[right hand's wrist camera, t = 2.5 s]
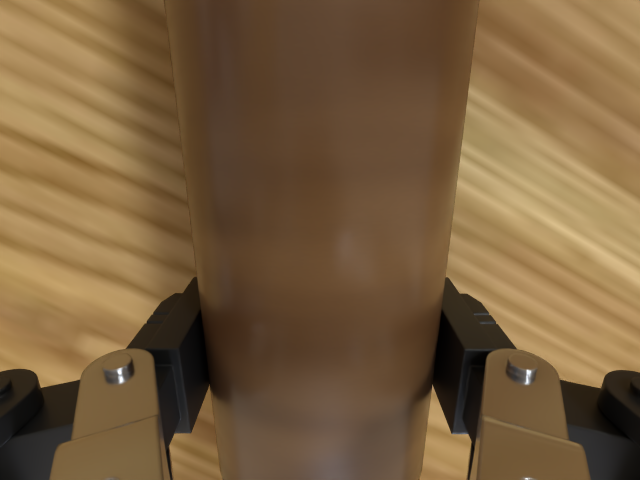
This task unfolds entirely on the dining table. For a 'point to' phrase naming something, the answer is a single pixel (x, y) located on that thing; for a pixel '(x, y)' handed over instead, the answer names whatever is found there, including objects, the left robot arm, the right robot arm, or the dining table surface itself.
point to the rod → (321, 221)
